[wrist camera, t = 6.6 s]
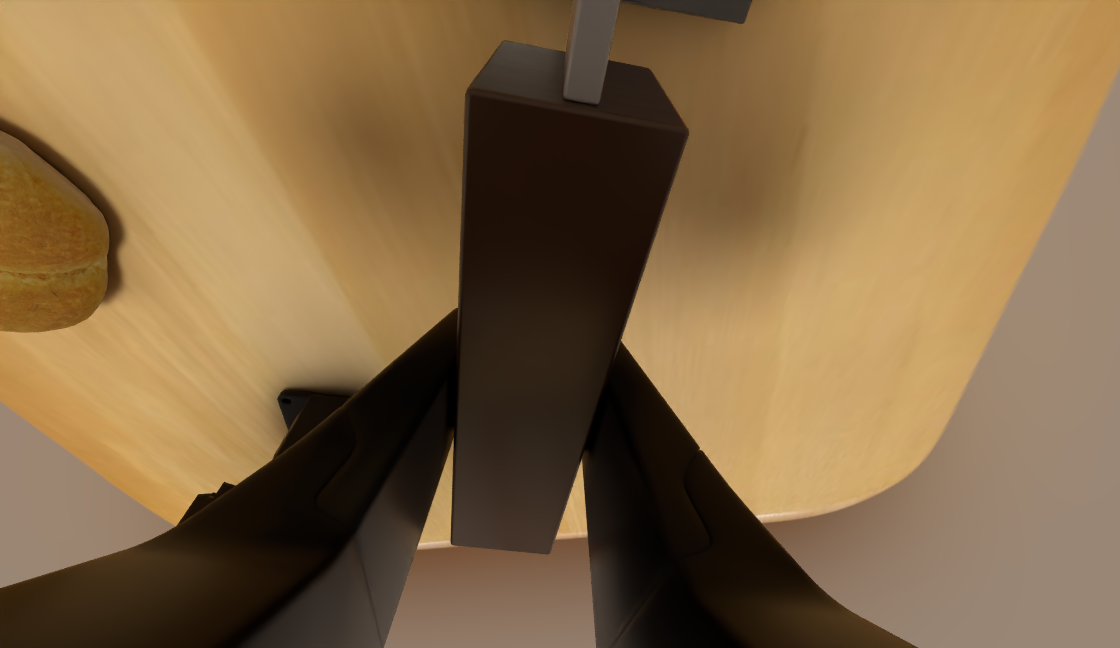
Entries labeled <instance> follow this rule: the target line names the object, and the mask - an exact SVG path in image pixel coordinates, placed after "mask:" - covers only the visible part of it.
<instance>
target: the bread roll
mask: <svg viewBox="0 0 1120 648" xmlns="http://www.w3.org/2000/svg"><path fill="white" fill-rule="evenodd" d="M109 243H110V239H109V228H108V226H107V223H106V221H105V219H104V216H103V214H102V213H101V212H100V210H99V209H98V208H97V207H95V206H94V205H93V204H92V202H91V201H90V199H89V198H88V196H86V195H85V194H84V193H83V192H82V191H80V190H79V189H78V188H77V187H76V186H75V185H74V184H72V183H71V182H70V181H69V180H68V179H67V178H65V177H64V176H63V175H62V174H61V173H59V172H58V171H57V170H56V169H54V168H53V167H52V166H51V165H50V164H48V163H47V162H46V161H45V160H43V159H42V158H41V157H39V156H38V155H37V154H36V153H34V152H33V151H32V150H31V149H29V148H28V147H27V146H26V145H25V144H24V143H23V142H21V141H19V140H18V139H16V138H14V137H13V136H10V135H8V134H6V133H4V132H2V131H0V331H10V332H44V331H50V330H56V329H62V328H67V327H70V326H74V325H76V324H78V323H80V322H82V321H84V320H86V319H87V318H89V317H90V316H91V315H92V314H93V313H94V311H95V310H96V309H97V307H98V306H99V305H100V303H101V302H102V301H103V298H104V295H105V293H106V289H107V277H108V274H107V266H108V264H107V254H108V250H109Z"/></svg>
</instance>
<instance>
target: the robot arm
mask: <svg viewBox="0 0 1120 648" xmlns="http://www.w3.org/2000/svg"><path fill="white" fill-rule="evenodd" d="M457 325H458V308H456V309H454V310H453V311H452V312H450V313H449V314H448V315H447V316H446V317H445V318H443V319H442V320H441V321H440V322H439V323H438V324H436V325H435V326H434V327H433V328H432V329H431V330H429V331H428V332H427V333H426V334H425V335H424V336H422V337H421V338H420V339H419V340H418V341H417V342H415V343H414V344H413V345H412V346H411V347H410V348H408V349H407V350H406V351H405V352H404V353H403V354H401V355H400V356H399V357H398V358H397V359H396V360H394V361H393V362H392V363H391V364H390V365H389V366H387V367H386V368H385V369H384V370H383V371H381V372H380V373H379V374H378V375H377V376H376V377H374V378H373V379H372V380H371V381H370V382H369V383H367V384H366V385H365V386H364V387H363V388H362V389H360V390H359V391H358V392H357V393H356V394H355V395H353V396H344V395H335V394H325V393H316V392H307V391H297V390H283V391H282V392H281V393H280V395H279V396H278V398H277V400H278V403H279V406H280V409H281V411H282V414H283V417H284V420H285V423H286V426H287V428H288V432H287V434H286V436H285V437H284V439H283V441H282V443H281V444H280V446H279V448H278V449H277V451H276V453H275V455H274V457H273V459H272V461H270V462H269V463H268V464H266V465H265V466H263V467H262V468H260V469H259V470H258V471H256V472H255V473H253V474H252V475H250V476H249V477H248V478H246V479H245V480H243V481H242V482H240V483H239V484H238V485H236V486H235V485H232V484H229V483H226V482H224V483H223V484H222V486H221V487H220V489H219V490H218V492H217V493H214V492H213V493H211V494H198V495H197V497H196V498H195V500H194V501H193V503H192V504H191V506H190V507H189V509H188V510H187V512H186V513H185V515H184V516H183V517H182V519H181V520H180V522H179V523H178V525H177V526H176V527H174V528H172V529H171V530H169V531H167V532H165V533H163V534H161V535H159V536H157V537H155V538H153V539H151V540H149V541H147V542H144V543H142V544H139V545H137V546H134V547H132V548H129V549H126V550H123V551H119V552H116V553H113V554H110V555H107V556H103V557H100V558H97V559H94V560H90V561H87V562H84V563H81V564H77V565H74V566H71V567H68V568H64V569H61V570H58V571H55V572H52V573H48V574H45V575H42V576H39V577H36V578H32V579H29V580H26V581H23V582H19V583H16V584H13V585H10V586H7V587H3V588H0V648H383V647H384V645H385V642H386V639H387V636H388V633H389V630H390V627H391V624H392V621H393V618H394V615H395V612H396V609H397V606H398V603H399V600H400V597H401V594H402V591H403V588H404V585H405V582H406V579H407V576H408V573H409V570H410V567H411V564H412V561H413V558H414V555H415V552H416V549H417V546H418V543H419V540H420V537H421V534H422V531H423V528H424V525H425V522H426V519H427V516H428V513H429V510H430V507H431V504H432V501H433V498H434V495H435V492H436V489H437V486H438V483H439V480H440V477H441V474H442V471H443V468H444V465H445V462H446V459H447V456H448V453H449V450H450V447H451V444H452V441H453V438H454V419H455V388H456V357H457ZM699 449H700V447H699V446H698V444H697V443H696V441H695V440H694V439H693V437H692V436H691V435H690V433H689V432H688V431H687V429H686V428H685V427H684V425H683V424H682V423H681V421H680V420H679V419H678V417H677V416H676V414H675V413H674V412H673V410H672V409H671V408H670V406H669V405H668V404H667V402H666V401H665V400H664V398H663V397H662V396H661V394H660V393H659V392H658V390H657V389H656V387H655V386H654V385H653V383H652V382H651V381H650V379H649V378H648V377H647V375H646V374H645V373H644V371H643V370H642V369H641V367H640V366H639V365H638V363H637V362H636V360H635V359H634V358H633V356H632V355H631V354H630V352H629V351H628V350H627V348H626V347H625V346H624V344H623V343H622V342H620V345H619V348H618V351H617V354H616V357H615V360H614V363H613V366H612V369H611V372H610V375H609V378H608V381H607V384H606V387H605V390H604V393H603V396H602V399H601V402H600V405H599V408H598V411H597V414H596V417H595V420H594V423H593V426H592V429H591V432H590V435H589V438H588V441H587V444H586V447H585V450H584V453H583V456H582V465H583V478H584V491H585V505H586V518H587V531H588V544H589V557H590V571H591V584H592V597H593V610H594V623H595V637H596V648H918V647H916V646H914V645H912V644H910V643H908V642H906V641H905V640H903V639H901V638H899V637H897V636H895V635H893V634H892V633H890V632H888V631H886V630H884V629H882V628H880V627H879V626H877V625H875V624H873V623H871V622H869V621H868V620H866V619H864V618H862V617H860V616H858V615H857V614H855V613H853V612H851V611H850V610H848V609H847V608H845V607H844V606H842V605H841V604H839V603H838V602H837V601H836V600H834V599H833V598H832V597H830V596H829V595H828V594H827V593H826V592H825V591H824V590H822V589H821V588H820V587H819V586H818V585H817V584H816V583H815V582H814V581H813V580H812V579H811V578H810V577H809V576H808V575H807V573H805V571H804V570H803V569H802V568H801V567H800V566H799V565H798V563H797V562H796V561H795V560H794V559H793V558H792V557H791V556H790V554H789V553H788V552H787V551H786V550H785V549H784V548H783V547H782V546H781V544H780V543H779V542H778V541H777V540H776V539H775V538H774V537H773V535H771V533H770V532H769V531H768V530H767V529H766V528H765V527H764V525H763V524H762V523H761V522H760V521H759V520H758V519H757V518H756V516H755V515H754V514H753V513H752V512H751V511H750V510H749V508H748V507H747V506H746V505H745V504H744V503H743V501H742V500H741V499H740V498H739V497H738V496H737V494H736V493H735V492H734V491H733V490H732V489H731V487H730V486H729V485H728V483H727V482H726V481H725V480H724V478H723V477H722V476H721V474H720V473H719V472H718V471H717V469H716V468H715V467H714V465H713V464H712V463H711V461H710V460H709V459H708V457H707V456H706V455H705V453H704V452H703V451H702V450H699Z"/></svg>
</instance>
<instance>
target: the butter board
mask: <svg viewBox="0 0 1120 648" xmlns="http://www.w3.org/2000/svg"><path fill="white" fill-rule="evenodd" d="M620 2H621V3H626V4H632V5H637V6H643V7H649V8H654V9H660V10H665V11H671V12H676V13H682V14H687V15H693V16H699V17H704V18H710V19H715V20H721V21H726V22H732V23H737V24H744V22H745V20H746V17H747V14H748V11H749V8H750V5H751V2H752V0H620Z"/></svg>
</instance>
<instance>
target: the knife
mask: <svg viewBox="0 0 1120 648" xmlns="http://www.w3.org/2000/svg"><path fill="white" fill-rule="evenodd" d="M619 5H620V0H573V4H572V10H571V17H570V24H569V30H568V37H567V44H566V52H563V51H558V50H553V49H548V48H542V47H537V46H532V45H527V44H522V43H517V42H511V41H502V42H501V44H500V45H499V46H498V48H497V49H496V50H495V52H494V53H493V55H492V56H491V57H490V59H489V60H488V61H487V63H486V64H485V65H484V67H483V68H482V69H481V71H480V72H479V73H478V75H477V76H476V77H475V79H474V80H473V82H472V83H471V84H470V86H469V87H468V88H467V90H466V93H465V107H464V138H463V169H462V201H461V232H460V263H459V294H458V325H457V357H456V388H455V419H454V450H453V481H452V513H451V544H452V545H455V546H465V547H476V548H486V549H497V550H507V551H517V552H527V553H539V554H550V552H551V550H552V547H553V544H554V541H555V538H556V535H557V532H558V529H559V526H560V523H561V520H562V517H563V514H564V511H565V508H566V505H567V502H568V499H569V496H570V493H571V490H572V487H573V483H574V480H575V477H576V474H577V471H578V468H579V465H580V462H581V459H582V456H583V453H584V450H585V447H586V444H587V441H588V438H589V435H590V432H591V429H592V426H593V423H594V420H595V417H596V414H597V411H598V408H599V405H600V402H601V399H602V396H603V393H604V390H605V387H606V384H607V381H608V378H609V375H610V372H611V369H612V366H613V363H614V360H615V357H616V354H617V351H618V348H619V345H620V342H621V339H622V336H623V333H624V330H625V327H626V324H627V321H628V318H629V315H630V311H631V308H632V305H633V302H634V299H635V296H636V293H637V290H638V287H639V284H640V281H641V278H642V275H643V272H644V269H645V266H646V263H647V260H648V257H649V254H650V251H651V248H652V245H653V242H654V239H655V236H656V233H657V230H658V227H659V224H660V221H661V218H662V215H663V212H664V209H665V206H666V203H667V200H668V197H669V194H670V191H671V188H672V185H673V182H674V179H675V176H676V173H677V170H678V167H679V164H680V161H681V158H682V155H683V152H684V149H685V146H686V142H687V139H688V136H689V129H688V127H687V125H686V124H685V122H684V121H683V119H682V118H681V116H680V115H679V113H678V111H677V110H676V108H675V107H674V105H673V104H672V102H671V100H670V99H669V97H668V96H667V94H666V93H665V91H664V90H663V88H662V86H661V85H660V83H659V82H658V80H657V79H656V77H655V76H654V74H653V72H652V71H651V70H650V69H649V68H646V67H641V66H636V65H630V64H625V63H620V62H615V61H610V60H608V59H609V54H610V49H611V44H612V39H613V34H614V29H615V24H616V20H617V15H618V10H619Z"/></svg>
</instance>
